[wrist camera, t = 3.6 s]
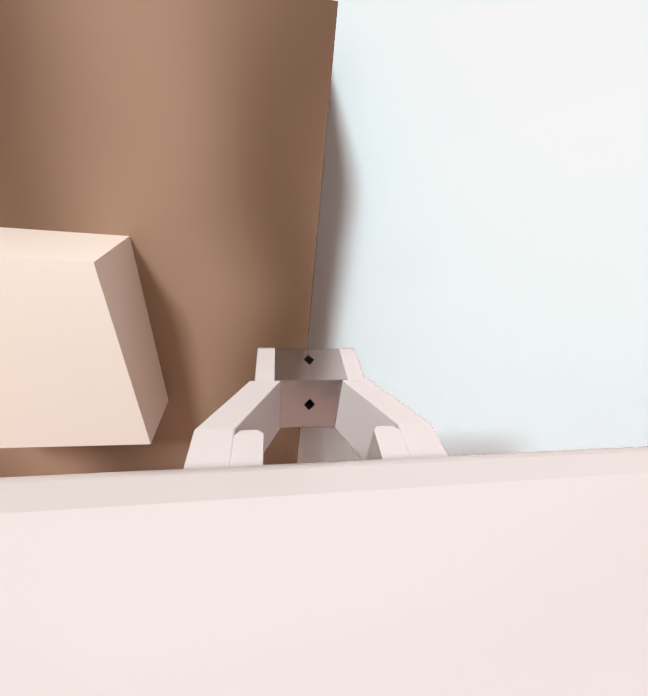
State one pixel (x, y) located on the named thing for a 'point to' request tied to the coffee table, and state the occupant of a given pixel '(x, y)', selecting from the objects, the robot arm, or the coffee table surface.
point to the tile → (75, 343)
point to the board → (175, 182)
